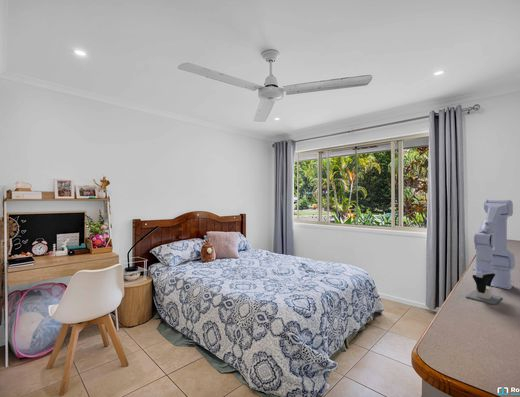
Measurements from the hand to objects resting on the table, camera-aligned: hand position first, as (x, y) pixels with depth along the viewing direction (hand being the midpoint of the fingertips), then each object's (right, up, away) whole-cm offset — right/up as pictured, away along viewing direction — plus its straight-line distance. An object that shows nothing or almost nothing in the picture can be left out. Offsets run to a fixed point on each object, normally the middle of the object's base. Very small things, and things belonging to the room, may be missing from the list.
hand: (483, 290), depth 120 cm
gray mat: (0, -3, 0) cm, 3 cm away
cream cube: (0, -3, 0) cm, 3 cm away
